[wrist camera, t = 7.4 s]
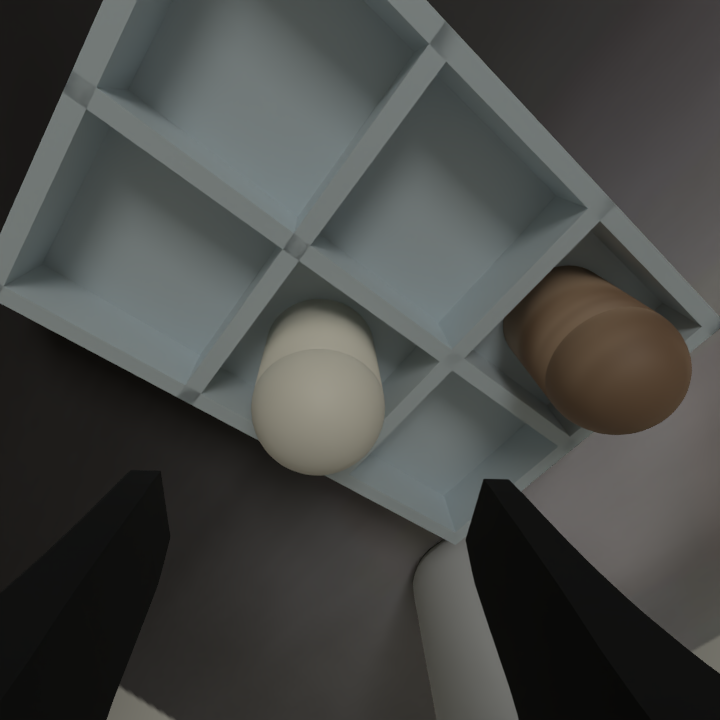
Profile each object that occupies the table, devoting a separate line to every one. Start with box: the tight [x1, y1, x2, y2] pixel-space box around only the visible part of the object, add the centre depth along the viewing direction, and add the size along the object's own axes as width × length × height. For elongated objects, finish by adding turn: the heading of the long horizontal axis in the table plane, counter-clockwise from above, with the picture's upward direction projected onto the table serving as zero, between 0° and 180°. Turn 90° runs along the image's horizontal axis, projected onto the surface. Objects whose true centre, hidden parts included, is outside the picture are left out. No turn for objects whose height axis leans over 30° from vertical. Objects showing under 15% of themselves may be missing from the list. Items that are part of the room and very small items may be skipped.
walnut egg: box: [503, 265, 692, 435], centre depth 16 cm, size 4×4×6 cm
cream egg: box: [251, 299, 385, 475], centre depth 16 cm, size 4×4×6 cm
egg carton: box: [0, 0, 720, 545], centre depth 16 cm, size 20×14×3 cm
